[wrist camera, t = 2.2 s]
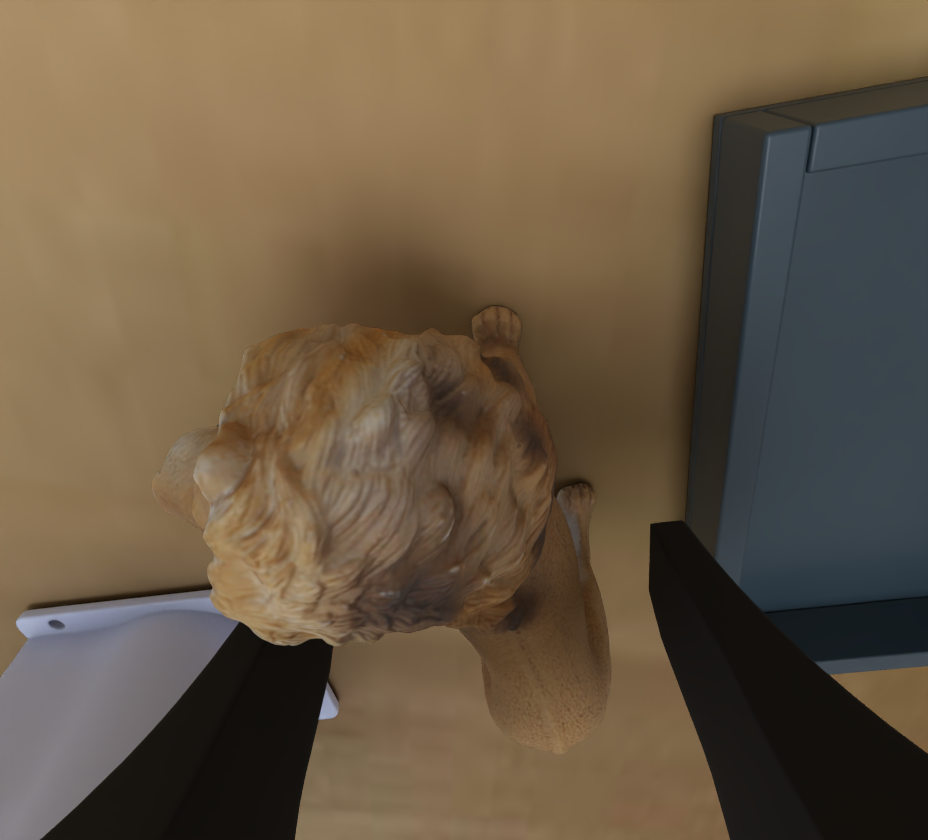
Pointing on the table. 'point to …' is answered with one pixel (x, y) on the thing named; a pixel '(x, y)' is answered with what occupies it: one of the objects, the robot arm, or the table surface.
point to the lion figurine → (403, 511)
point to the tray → (819, 371)
